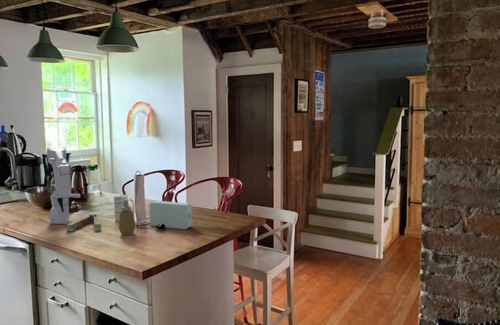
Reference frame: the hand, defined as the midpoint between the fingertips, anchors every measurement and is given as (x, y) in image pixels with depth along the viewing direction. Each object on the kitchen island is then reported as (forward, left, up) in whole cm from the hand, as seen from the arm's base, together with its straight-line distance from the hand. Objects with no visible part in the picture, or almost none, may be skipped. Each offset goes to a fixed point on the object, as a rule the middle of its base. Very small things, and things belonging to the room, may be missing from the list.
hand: (66, 211), depth 216 cm
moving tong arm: (+5, +3, -9) cm, 11 cm away
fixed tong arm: (+13, +6, -9) cm, 17 cm away
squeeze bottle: (+36, -9, -10) cm, 39 cm away
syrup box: (+23, +20, -10) cm, 32 cm away
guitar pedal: (+55, +7, -10) cm, 57 cm away
